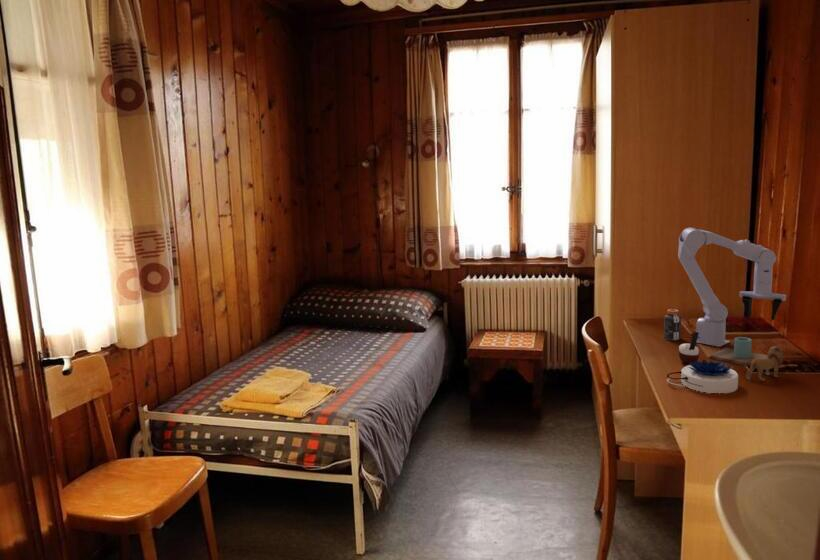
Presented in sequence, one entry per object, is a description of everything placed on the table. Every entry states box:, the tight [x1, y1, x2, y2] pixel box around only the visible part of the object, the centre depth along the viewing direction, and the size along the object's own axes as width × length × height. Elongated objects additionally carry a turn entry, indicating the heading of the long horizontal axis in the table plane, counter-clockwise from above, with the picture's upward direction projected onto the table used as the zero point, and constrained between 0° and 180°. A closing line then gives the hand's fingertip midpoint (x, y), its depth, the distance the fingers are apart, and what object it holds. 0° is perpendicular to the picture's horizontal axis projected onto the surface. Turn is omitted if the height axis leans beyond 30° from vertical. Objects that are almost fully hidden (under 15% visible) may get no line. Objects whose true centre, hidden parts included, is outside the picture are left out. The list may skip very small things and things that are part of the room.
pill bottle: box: [663, 308, 682, 341], centre depth 234 cm, size 6×6×11 cm
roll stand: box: [709, 347, 768, 367], centre depth 207 cm, size 16×12×5 cm
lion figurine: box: [746, 345, 784, 382], centre depth 189 cm, size 15×5×9 cm, turn 119°
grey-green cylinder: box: [733, 336, 753, 358], centre depth 207 cm, size 5×5×6 cm
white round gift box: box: [666, 359, 739, 395], centre depth 187 cm, size 7×16×20 cm
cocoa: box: [678, 331, 700, 365], centre depth 206 cm, size 10×6×12 cm
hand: (761, 318), depth 221 cm, fingers open, 7 cm apart
